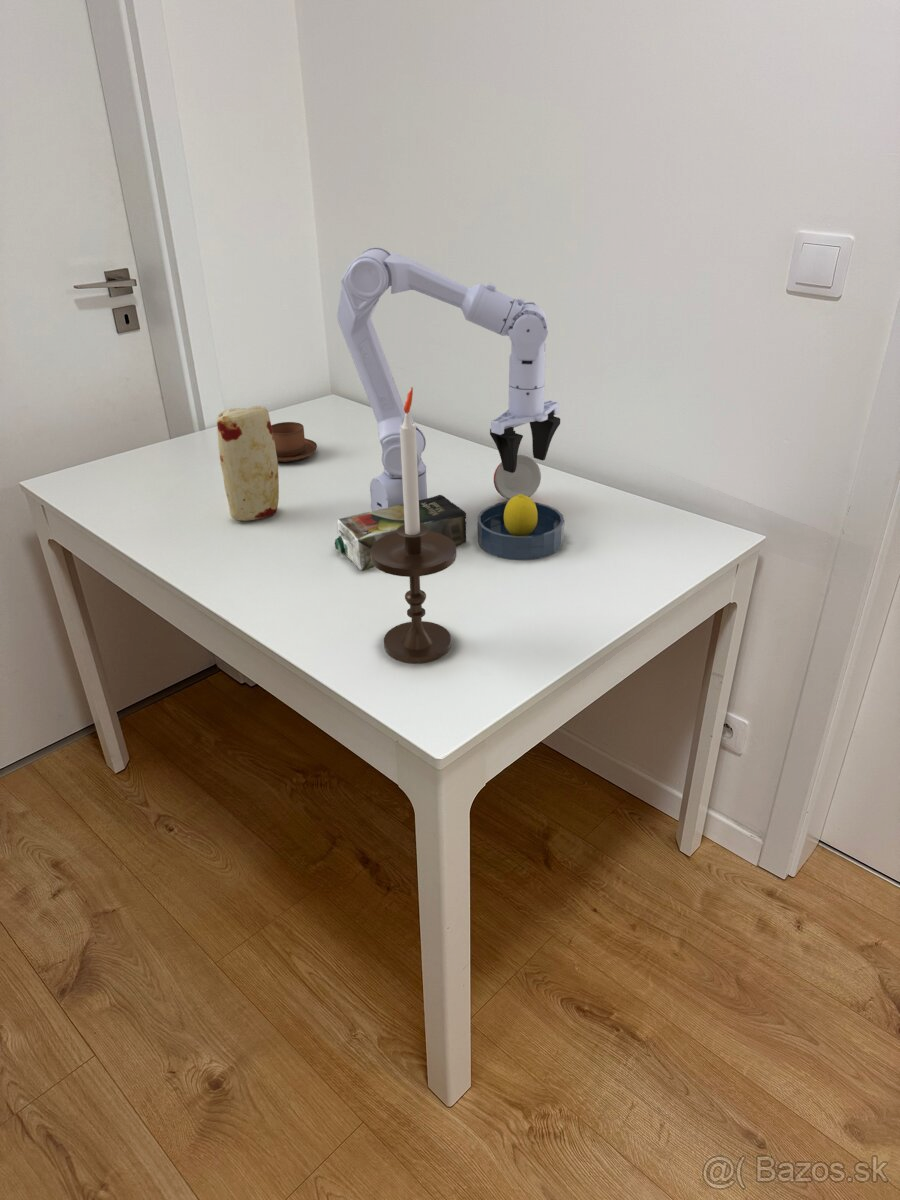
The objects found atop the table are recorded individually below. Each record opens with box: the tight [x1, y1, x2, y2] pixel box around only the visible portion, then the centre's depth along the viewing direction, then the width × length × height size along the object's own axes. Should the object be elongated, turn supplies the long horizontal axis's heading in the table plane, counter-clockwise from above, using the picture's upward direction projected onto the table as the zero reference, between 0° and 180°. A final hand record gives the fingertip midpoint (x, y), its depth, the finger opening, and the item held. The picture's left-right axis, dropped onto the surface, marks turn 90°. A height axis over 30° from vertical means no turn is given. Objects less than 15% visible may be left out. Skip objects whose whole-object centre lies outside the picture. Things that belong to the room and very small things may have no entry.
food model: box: [216, 405, 280, 522], centre depth 146 cm, size 10×7×20 cm
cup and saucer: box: [271, 421, 318, 463], centre depth 175 cm, size 12×12×6 cm
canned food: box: [493, 454, 542, 501], centre depth 149 cm, size 8×8×11 cm
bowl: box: [476, 501, 565, 561], centre depth 139 cm, size 14×14×4 cm
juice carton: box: [334, 494, 467, 571], centre depth 137 cm, size 20×10×6 cm, turn 118°
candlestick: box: [370, 386, 457, 664], centre depth 105 cm, size 11×11×35 cm
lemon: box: [504, 494, 538, 536], centre depth 138 cm, size 6×6×8 cm
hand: (524, 464), depth 142 cm, fingers open, 7 cm apart
